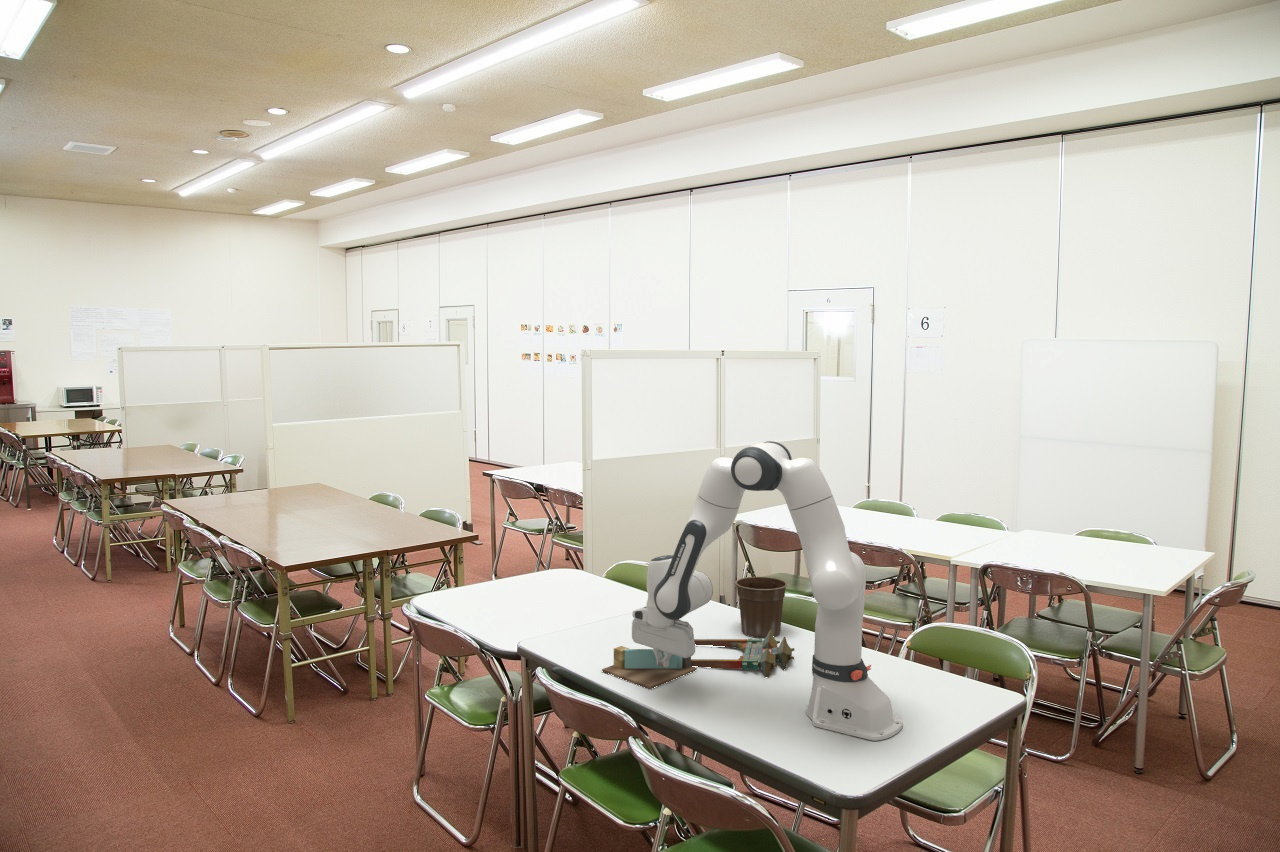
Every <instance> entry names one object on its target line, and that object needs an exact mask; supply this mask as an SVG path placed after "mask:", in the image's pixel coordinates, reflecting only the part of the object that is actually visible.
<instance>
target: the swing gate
mask: <svg viewBox="0 0 1280 852" xmlns="http://www.w3.org/2000/svg"><path fill="white" fill-rule="evenodd" d="M661 653H662V656H663V658H664V657H665V655H664V651H661ZM625 668H665V667H662V666H659V665H657V659H656V657H655V654H654V652H653V648H629V649H625ZM666 668H676V669H682V657H680V656H676V655H673V654H672V656H671V658H670V660H669V666H668V667H666Z"/></svg>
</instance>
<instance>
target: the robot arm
mask: <svg viewBox="0 0 1280 852" xmlns="http://www.w3.org/2000/svg"><path fill="white" fill-rule="evenodd" d="M746 490H747V491H751V492H752V491H753V492H763V491H769V492H770V491H771V492H772V491H775V490H778V491H779V492H780V493H781V495H782V496H783V498H784V500H785V504H786V506H787V509H788V511H789V514H790V517H791V520H792V522H793V525H794V528H795V530H796V533H797V535H798V538H799V540H800V541H799V542H800V545H801V548H802V549H801V550H802V553H803V557H804V558H803V559H804V563H805V566H806V571H807V574H808V578H809V581H810V587H811V591H812V592H811V593H812V595H813V598H814V600H815V601H816V603H817V608H816V609H817V610H816V617H815V623H814V653H813V654H812V662H811V673H812V676H813V677H812V685H811V691H810V696H809V701H808V704H807V707H806V710H805V712H806V715H807V716H808V717H809V719H810V720H811V723H812V725H813V726H814V727H817V728H821V729H823V730H827V731H832V732H836V733H841V734H845V735H848V736H853V737H857V738H861V739H863V740H869V741H874V742H875V741H876V742H877V741H882V740H883V741H884V740H886V739H889V738H891V737H893V736H895V735H896V734H898V733H899V732H900V731H901V730H902V728H903V720H902V718H900V717H897V716H896V715H894V713H893V712H894V710H893V706H892V702H891V699H890V697H889V696H888V695H887V694H886V693H885V692H884V691H883V690H882V689H880V687H878V685H877V684H876V683H875V682H874V681H873V680H872V679H871V678H870V677H869V674H868V672H869V671H870V670H872V665H871V664H868V665H866V664H865V663H864V660H863V658H862V644H863V642H862V641H863V625H864V623H863V622H864V614H865V613H864V612H865V599H866V588H867V587H866V586H867V585H866V583H867V571H866V566H865V563H864V562H863V559H862V558H861V557H860V555H858V554H857V553H854V552H852V551H851V550H850V546H849V543H848V538H847V533H846V529H845V524H844V522H843V519H842V516H841V514H840V511H839V509H838V505H837V503H836V500H835V498H834V495H833V493H832V490H831V488H830V486H829V483H828V481H827V478H825V475H824V473H823V472H822V471H821V469H820V467H819V465H818V464H817V462H816V461H815V460H814V459H811V458H808V457H797V458H794V459H792V455H791V453H790V451H789V449H788V448H787V447H786V446H785V445H783V444H782V443H779V442H777V441H774V440H773V441H771V440H768V441H764V442H757V443H754V444H752V445H749V446H746V447H744V448H743V449H741V450H739V452H737V453H736V455H735V456H734V458H731V457H728V456H727V457H726V456H720V457H717V458H715V459H713V460H712V461H711V462H710V464H709V466H708V468H707V469H706V471H705V473H704V476H703V478H702V480H701V484H700V486H699V489H698V492H697V496H696V499H695V502H694V505H693V508H692V511H691V513H690V515H689V518H688V520H687V522H686V524H685V527H684V529H683V531H682V533H681V535H680V537H679V539H678V542H677V545H676V548H675V550H674V552H673V554H672V555H671V554H670V555H669V554H667V555H660V556H656V557H654V558H652V559H651V560H650V561H649V562H648V566H647V572H646V590H647V591H646V592H647V600H646V605H645V606H643V607H639V608H636V609H635V610H632V617H633V619H632V622H631V639H632V641H633V642H634V643H635V644H638V645H642V646H645V647H648V648H650V649H653V652H654V654H655V657H656V659H657V665H659V666H662V667H665V668H666V667H668V666H669V660H670V658H671V656H672V654H673V655H676V656H680V657H683V658H688V657H691V658H692V657H694V656H695V654H696V646H695V640H694V639H695V635H694V628H693V626H692V625H691V624H690V622H688V621H684V620H681V619H682V618H683V617H685V616H686V615H688V614H689V613H691V612H693V611H696V610H698V609H699V608H701V607H703V606H705V605H706V604H708V603H709V602H710V601H711V600H712V598H713V594H714V588H713V584H712V581H711V579H710V578H709V576H708V575H707V574H705V572H702V571H699V570H696V568H697V566H698V563H699V560H700V559H701V556H702V554H703V553H704V552H705V550H706V549H707V548H708V547H709V546H710V545H711V544H712V543H713V542H715V541H716V540H717V539H718V538H720V537H721V536H722V535H724V534H726V533H727V532H728V531H729V530H730V529H731V527H732V525H733V523H734V522H735V520H736V518H737V515H738V513H739V509H740V507H741V503H742V499H743V496H744V494H745V492H746ZM661 651H664V655H665V657H664V658H663V656H662V653H661Z"/></svg>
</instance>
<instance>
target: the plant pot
mask: <svg viewBox="0 0 1280 852" xmlns="http://www.w3.org/2000/svg"><path fill="white" fill-rule="evenodd" d="M735 586H736V591H737V596H738V600H739V601H738V602H739V614H740V625H741V627H740V628H741V633H742V632H743V634H744V635H745V634H747V635H749V636H748V637H751V636H753V637H752V638H758V637H761V639H765V638H766V636H767V635H768V633H769V631H770V630H771V631H772V634H773V636H775V637H777V636H779V635H780V634H781V631H782V630H781V629H782V617H783V607H784V598H785V595H786V587H787V586H788V583H787V582H786V581H785V580H784V579H780V578H776V577H771V576H770V577H769V576H747V577H746V576H745V577H742V578H739V579H736V580H735ZM747 635H746V636H747Z"/></svg>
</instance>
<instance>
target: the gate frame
mask: <svg viewBox="0 0 1280 852" xmlns="http://www.w3.org/2000/svg"><path fill="white" fill-rule="evenodd" d="M625 649H630V648H629V647H626V646H623V645H619V646H617V647H615V648H613V665H610V666H607V667H604V668H602V669H601V672H602V671H603V672H606V673H609V674H612V675H614V676H617V677H619V678H618V679H620V678H622V679H624V680H623V681H625V680H627V681H626V682H628V681H630V682H632V683H631V684H633V683H634V684H633V685H636V684H637V685H636V686H639V685H640V686H639V687H641V686H642V687H641V688H644V687H645V688H644V689H647V688H648V689H647V690H649V689H651V690H653V689H655V688H654V687H656V686H658V687H660V686H662V685H661V684H663V685H664V683H665V684H667V683H666V682H668V683H669V681H670V682H672V681H671V680H673V679H675V680H677V679H676V678H678V677H680V676H683V675H685V676H687V675H689V674H688V673H690V672H692V673H694V672H693V671H695V670H697V669H698V668H695V667H692V666H691V659H692V656H691V657H688V658H683V657H682V669H676V668H625ZM603 672H602V673H603ZM695 672H696V671H695ZM606 673H605V674H606ZM609 674H608V675H609ZM686 674H687V675H686ZM690 674H691V673H690ZM612 675H611V676H612ZM614 676H613V677H614ZM617 677H616V678H617ZM683 677H684V676H683ZM680 678H681V677H680ZM622 679H621V680H622ZM678 679H679V678H678ZM673 681H674V680H673ZM630 682H629V683H630ZM659 685H660V686H659ZM652 688H653V689H652ZM656 688H657V687H656Z"/></svg>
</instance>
